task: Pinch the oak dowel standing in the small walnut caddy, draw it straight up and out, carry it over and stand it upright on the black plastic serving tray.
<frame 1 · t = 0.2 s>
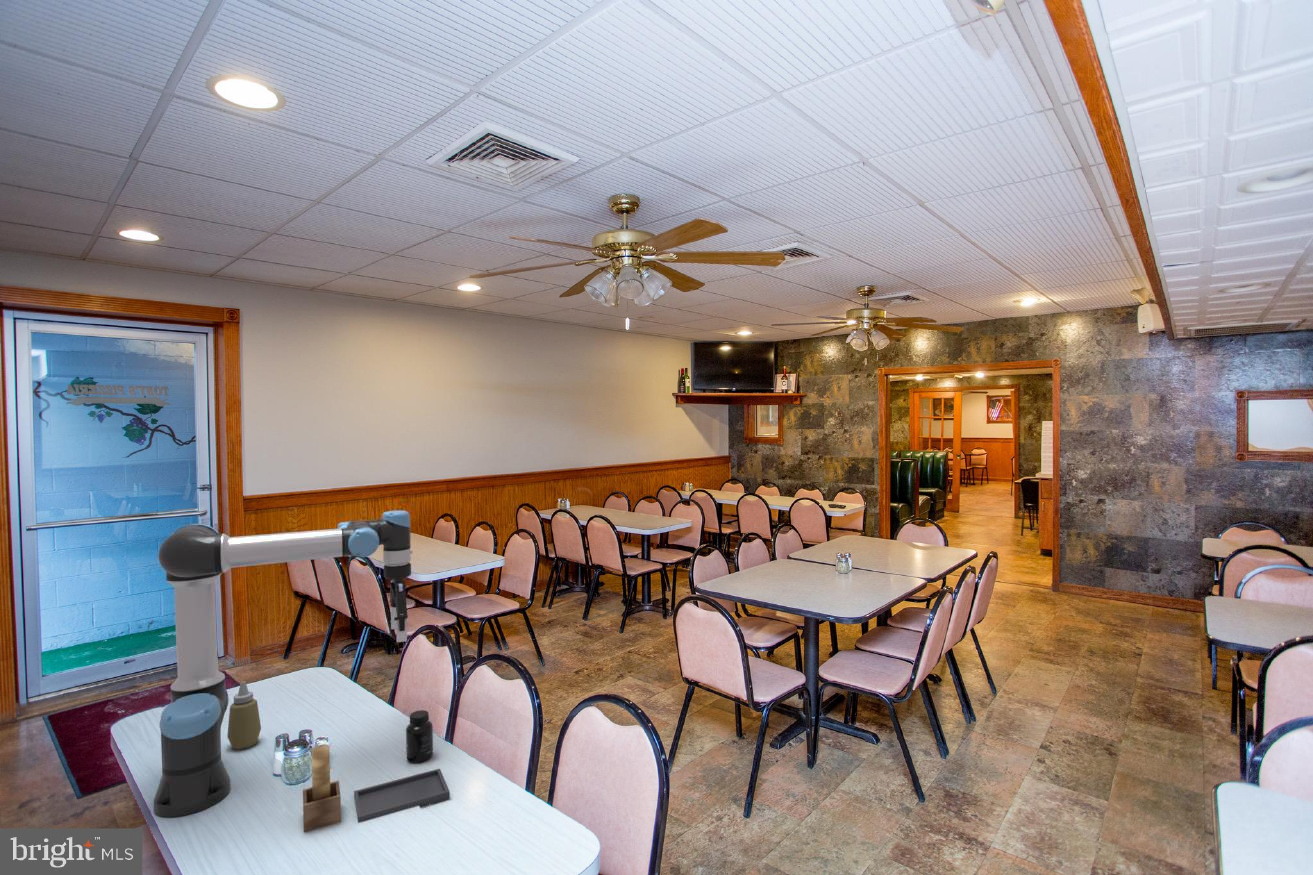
hand: (398, 634, 190), 28 cm above the table, fingers open, 13 cm apart
supplement bottle: (420, 758, 174), on the table
squeeze bottle: (244, 745, 182), on the table
dowel: (322, 817, 146), point 1 cm above the table, touching caddy
caddy: (322, 820, 146), on the table
tray: (401, 798, 154), on the table
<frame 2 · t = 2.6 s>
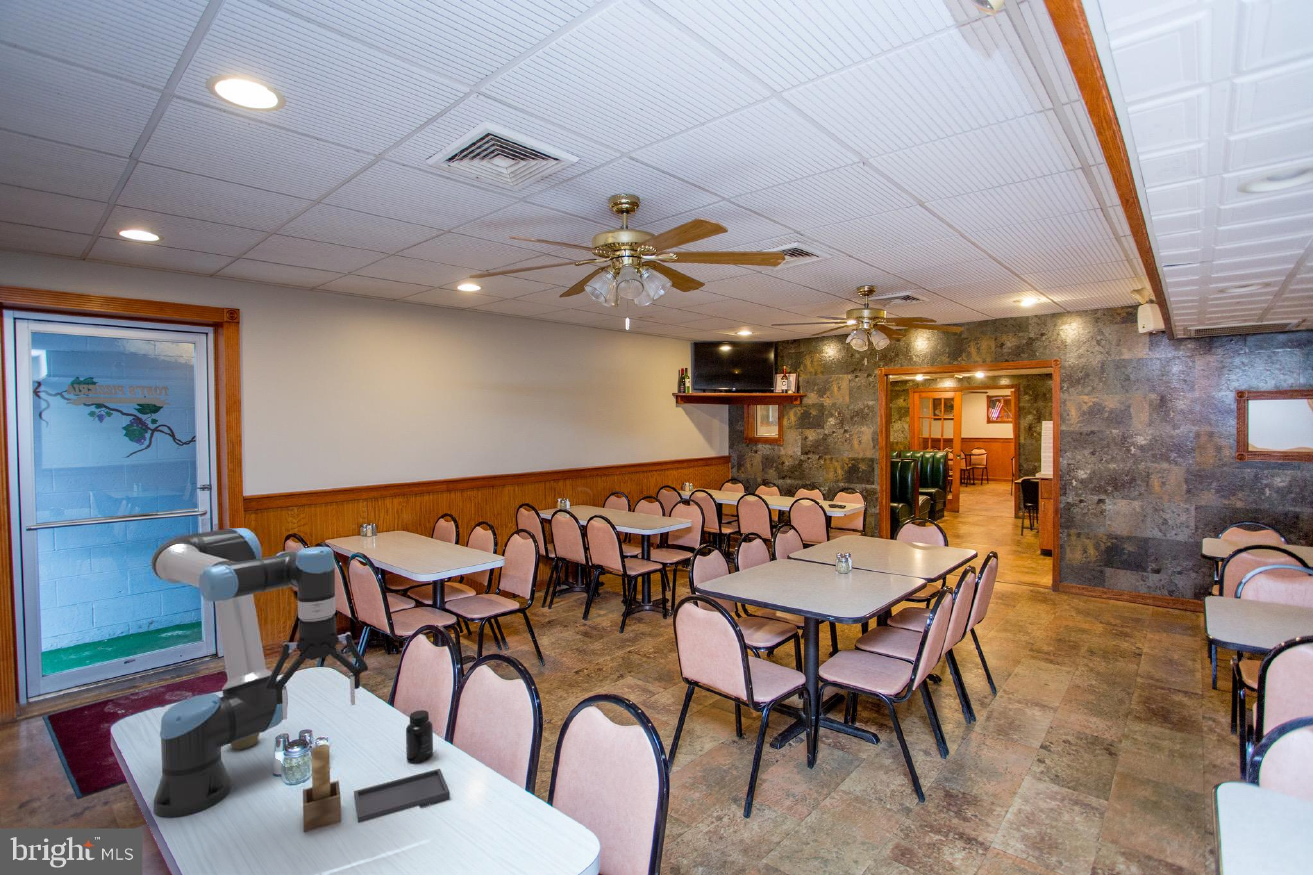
hand: (319, 709, 146), 26 cm above the table, fingers open, 13 cm apart
nothing on the table moved.
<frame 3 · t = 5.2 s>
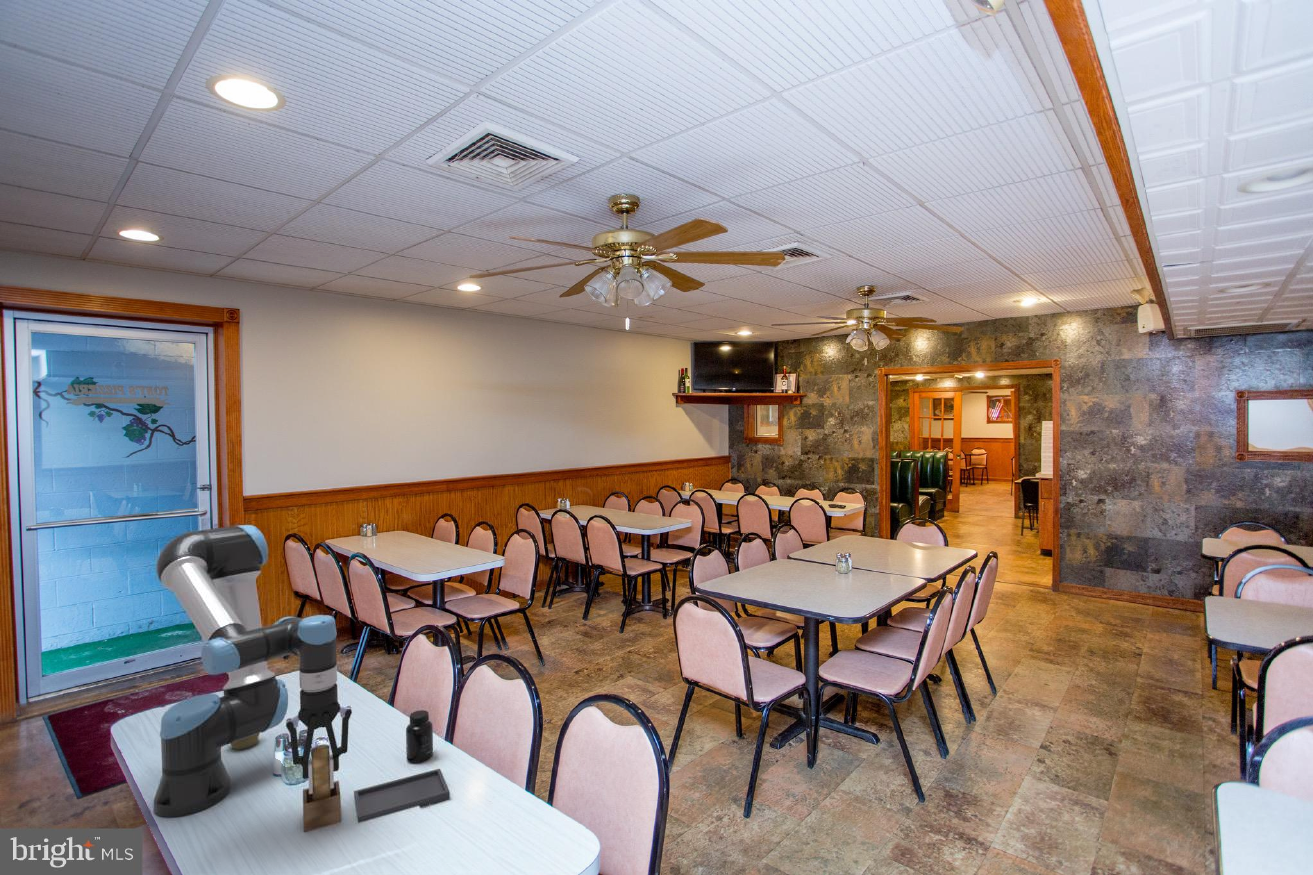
hand: (321, 787, 146), 8 cm above the table, fingers closed on dowel, 3 cm apart
dowel: (322, 817, 146), point 1 cm above the table, touching caddy, gripper
everything else where it was.
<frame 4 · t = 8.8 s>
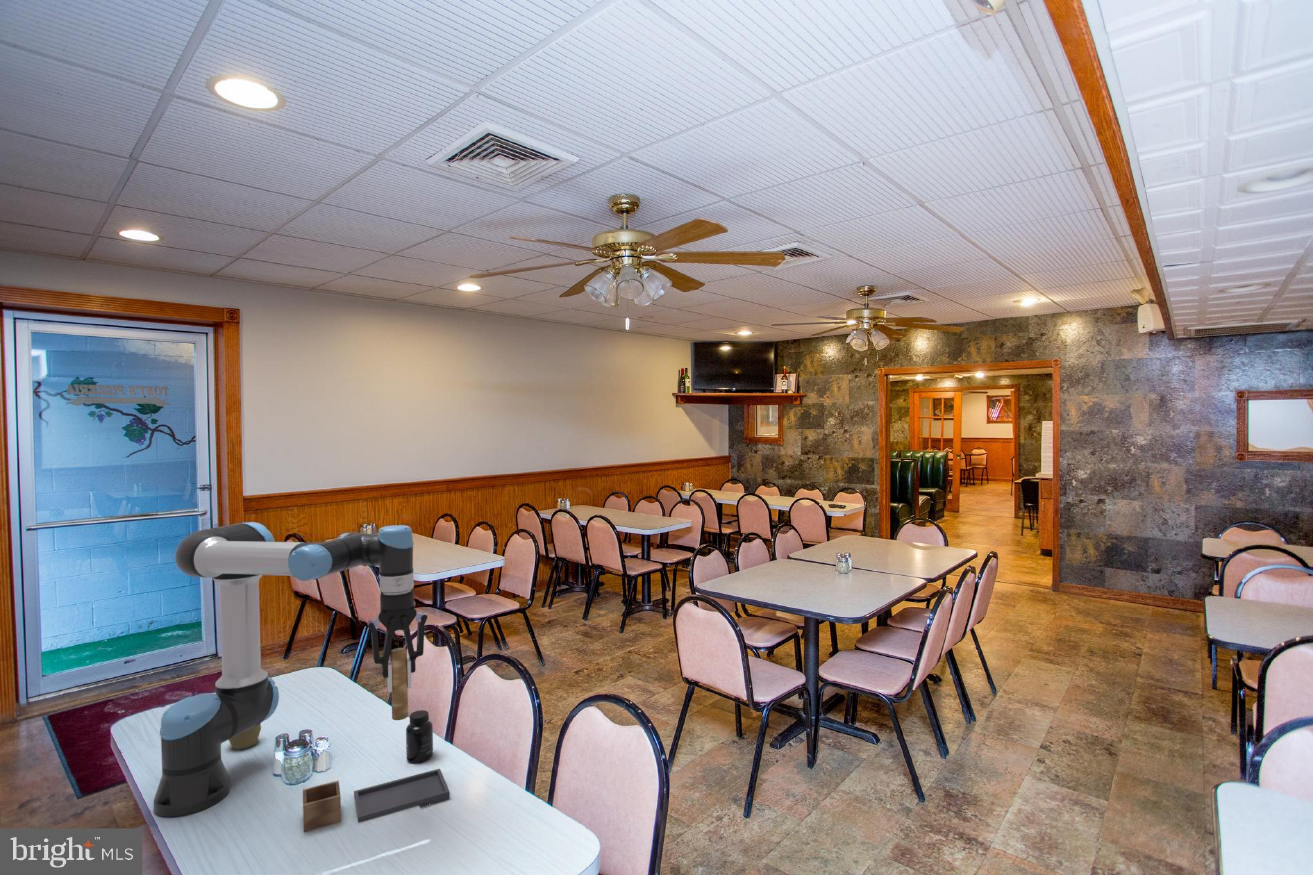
hand: (399, 687, 154), 27 cm above the table, fingers closed on dowel, 3 cm apart
dowel: (400, 716, 154), point 20 cm above the table, touching gripper
everything else where it was.
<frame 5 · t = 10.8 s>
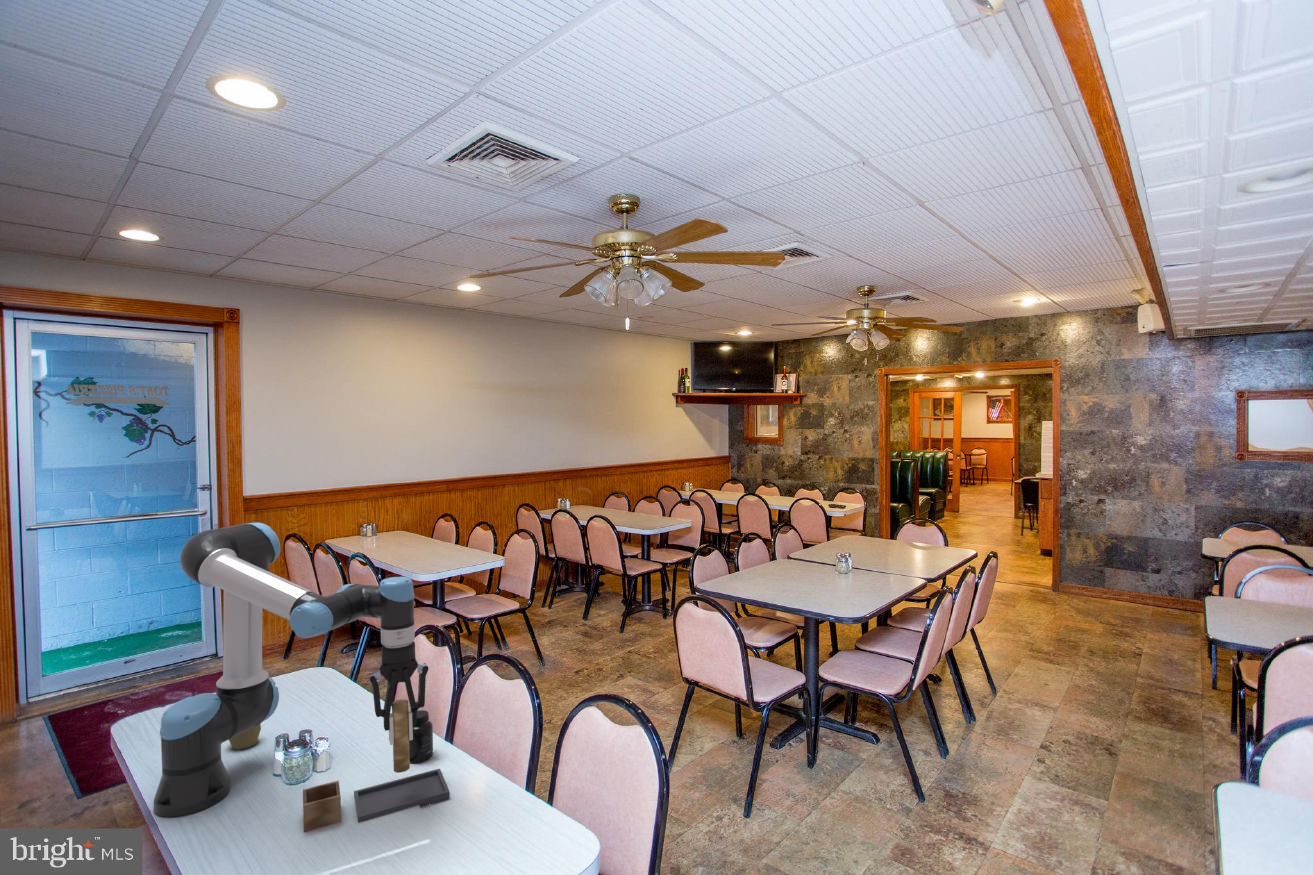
hand: (400, 739, 154), 14 cm above the table, fingers closed on dowel, 3 cm apart
dowel: (401, 768, 154), point 7 cm above the table, touching gripper
everything else where it was.
when the fingers open (8 cm above the table, at t = 12.7 s): dowel drops 1 cm, resting on tray.
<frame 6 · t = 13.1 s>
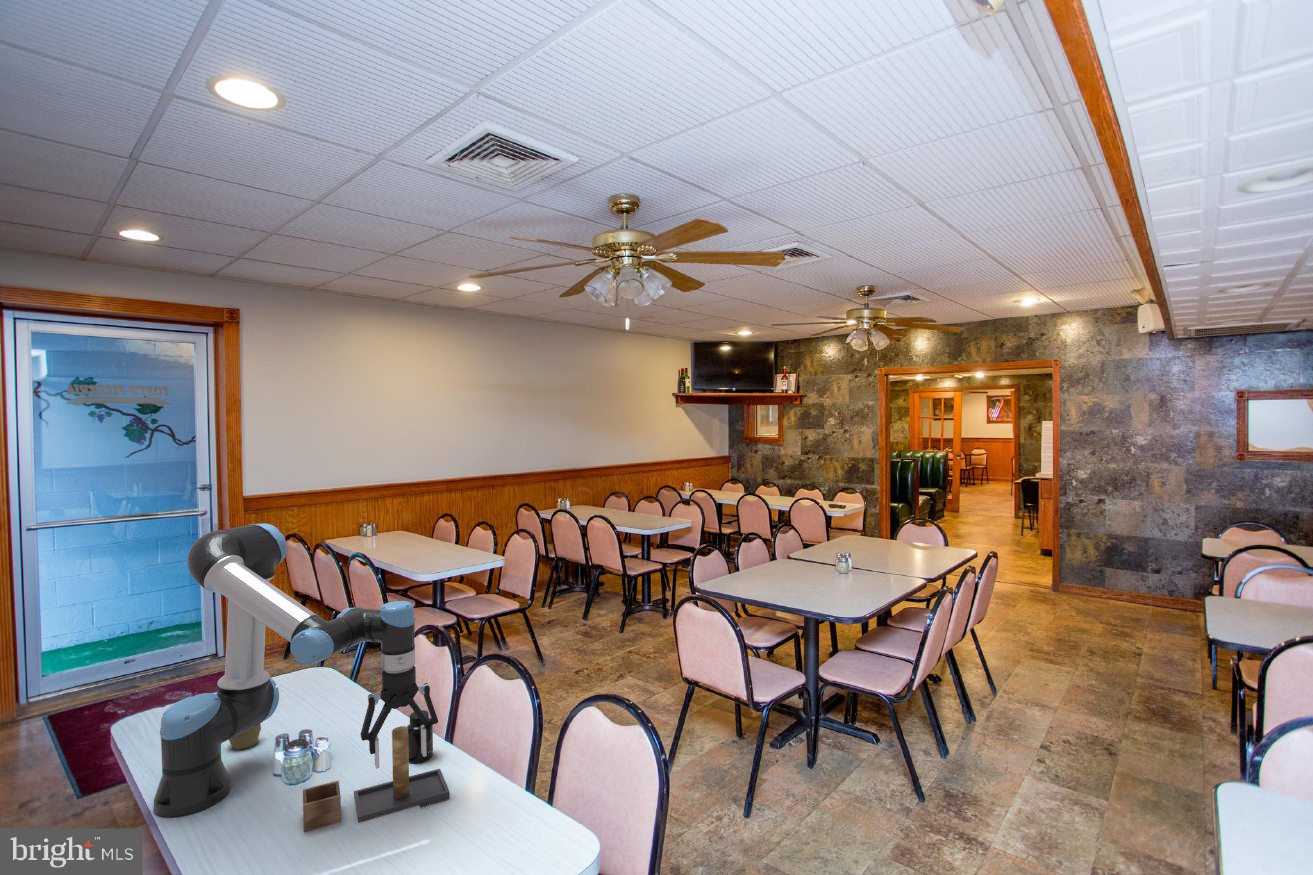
hand: (400, 759, 154), 9 cm above the table, fingers open, 10 cm apart
dowel: (401, 795, 154), point 1 cm above the table, touching tray
everything else where it was.
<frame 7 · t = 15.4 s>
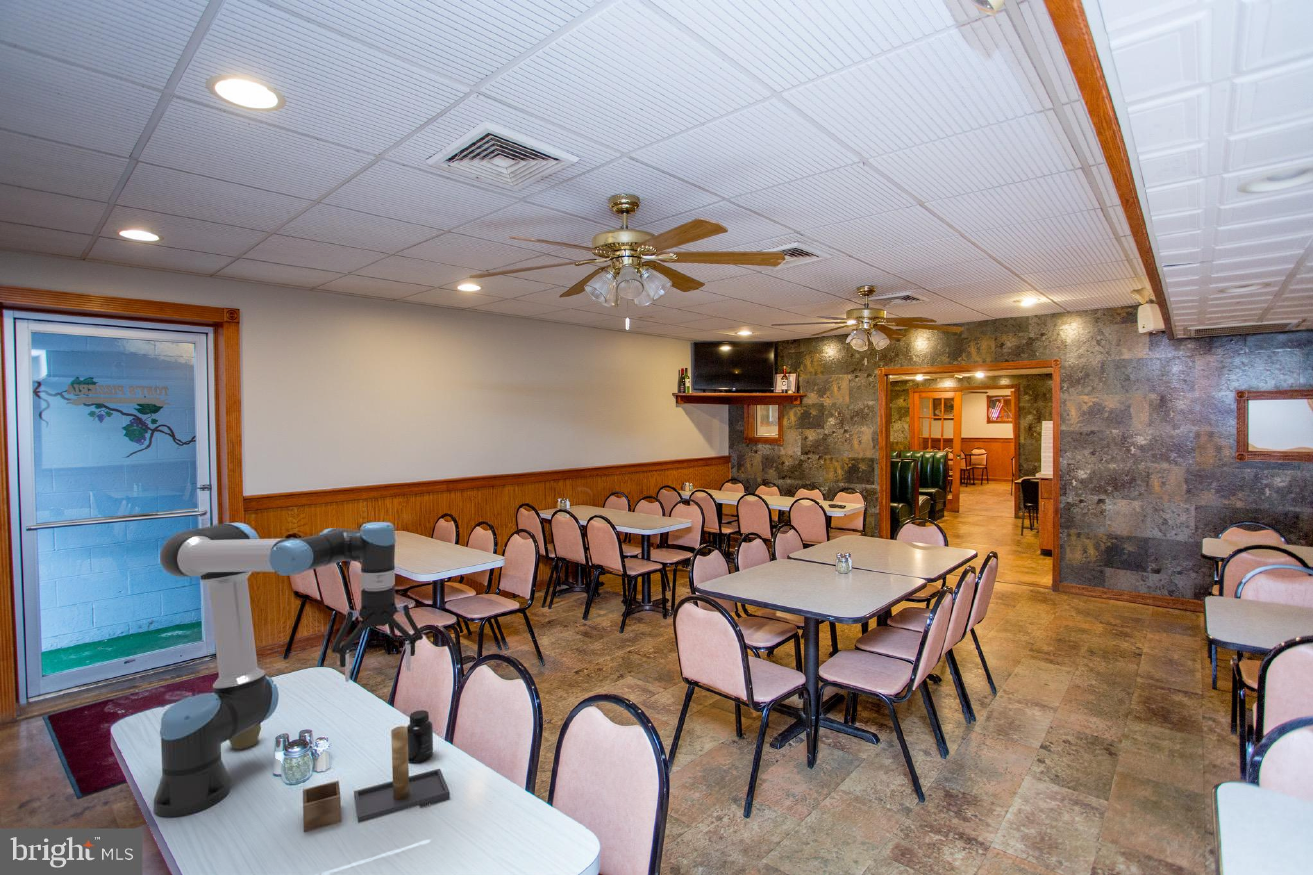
hand: (378, 674, 155), 30 cm above the table, fingers open, 13 cm apart
nothing on the table moved.
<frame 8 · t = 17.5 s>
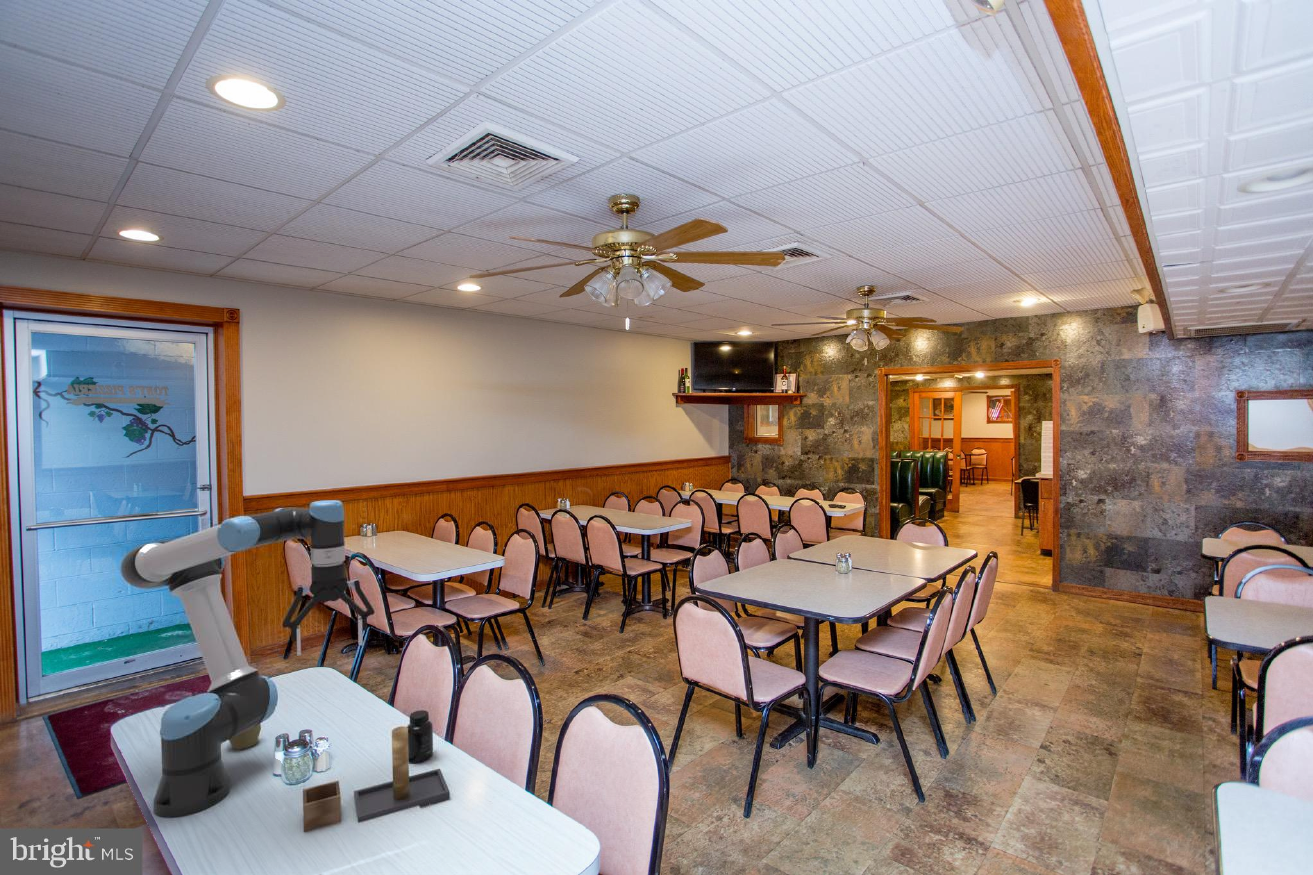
hand: (330, 648, 159), 35 cm above the table, fingers open, 13 cm apart
nothing on the table moved.
at the end: dowel inside the target area on the tray (0.1 cm from its centre), point 0.8 cm above the tray's base; dowel tilted 1°; the gripper is holding nothing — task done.
